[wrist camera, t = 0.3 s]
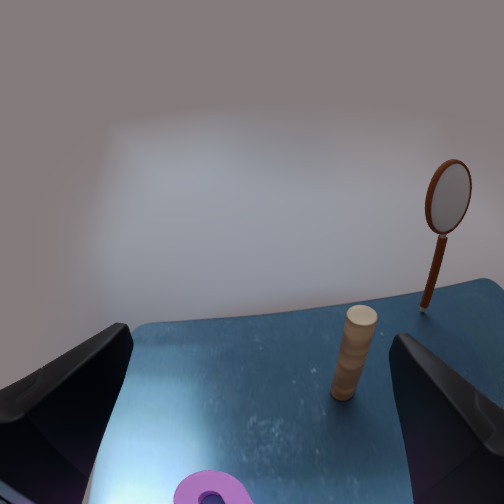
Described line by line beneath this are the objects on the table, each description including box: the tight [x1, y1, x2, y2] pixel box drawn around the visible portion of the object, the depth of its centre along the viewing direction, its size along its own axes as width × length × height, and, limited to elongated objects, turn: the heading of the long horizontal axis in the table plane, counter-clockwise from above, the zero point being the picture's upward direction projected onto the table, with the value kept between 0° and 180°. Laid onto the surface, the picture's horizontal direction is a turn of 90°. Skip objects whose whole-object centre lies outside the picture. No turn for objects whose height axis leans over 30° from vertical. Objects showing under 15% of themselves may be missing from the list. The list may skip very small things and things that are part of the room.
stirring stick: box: [331, 305, 378, 401], centre depth 23 cm, size 2×2×10 cm
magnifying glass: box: [420, 159, 472, 312], centre depth 29 cm, size 9×2×20 cm, turn 107°
